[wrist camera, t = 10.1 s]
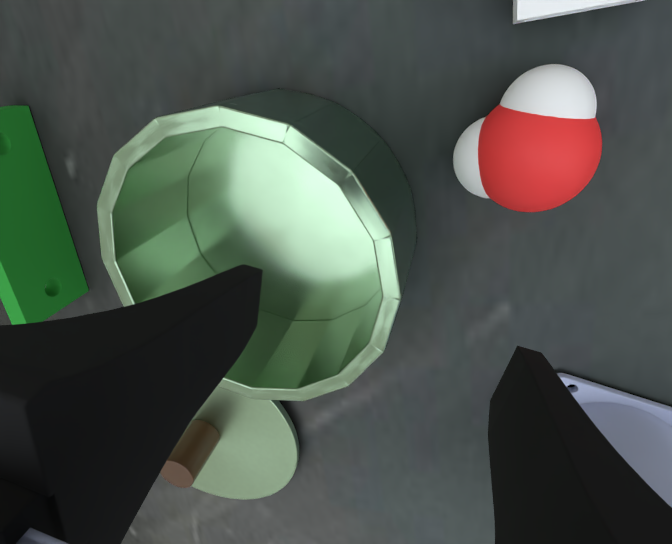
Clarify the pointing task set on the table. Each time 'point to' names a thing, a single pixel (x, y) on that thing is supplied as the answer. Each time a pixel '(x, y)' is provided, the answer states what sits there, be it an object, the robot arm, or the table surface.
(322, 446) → the table surface
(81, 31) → the table surface
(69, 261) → the pipe clamp
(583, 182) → the molecule
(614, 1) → the charging cable
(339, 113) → the pot
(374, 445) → the table surface
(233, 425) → the pot lid
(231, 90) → the table surface
